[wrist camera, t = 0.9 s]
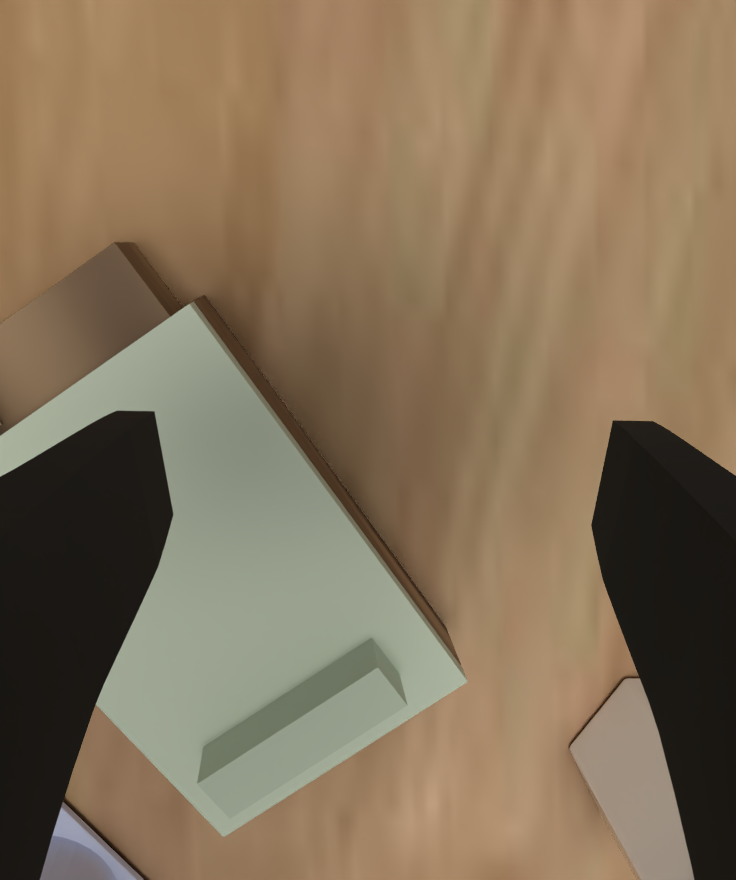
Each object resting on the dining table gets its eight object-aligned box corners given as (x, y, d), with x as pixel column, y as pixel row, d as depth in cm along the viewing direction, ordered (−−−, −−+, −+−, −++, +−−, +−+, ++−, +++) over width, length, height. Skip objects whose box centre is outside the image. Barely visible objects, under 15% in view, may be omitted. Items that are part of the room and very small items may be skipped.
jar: (753, 671, 35) (982, 883, 23) (720, 808, 37) (915, 1064, 25) (580, 671, 34) (730, 893, 22) (556, 812, 36) (682, 1081, 24)
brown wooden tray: (128, 831, 33) (113, 886, 31) (-218, 491, 28) (-277, 520, 25) (445, 627, 32) (461, 664, 29) (155, 227, 26) (138, 225, 24)
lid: (225, 818, 30) (218, 879, 27) (-83, 493, 25) (-131, 526, 22) (461, 667, 29) (480, 713, 26) (193, 301, 24) (180, 309, 21)
